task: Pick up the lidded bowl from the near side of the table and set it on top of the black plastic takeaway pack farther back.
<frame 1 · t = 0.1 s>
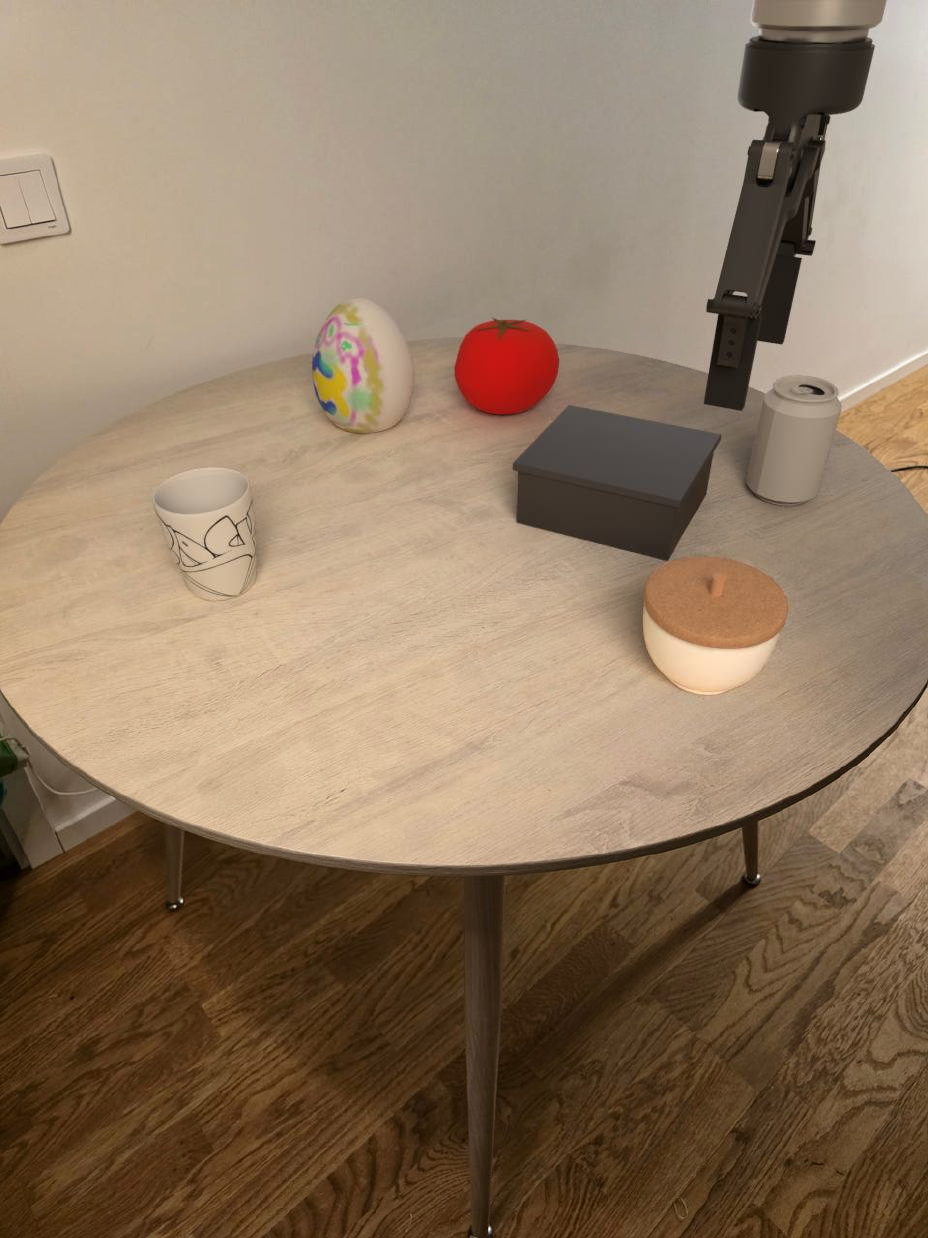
hand: (746, 371, 65), 21 cm above the table, tool pointing down, fingers open, 13 cm apart
lidded bowl: (700, 671, 71), on the table
tomato: (505, 407, 111), on the table
decorative egg: (367, 421, 109), on the table
can: (780, 493, 93), on the table
takeaway pack: (613, 508, 91), on the table
mug: (216, 577, 83), on the table
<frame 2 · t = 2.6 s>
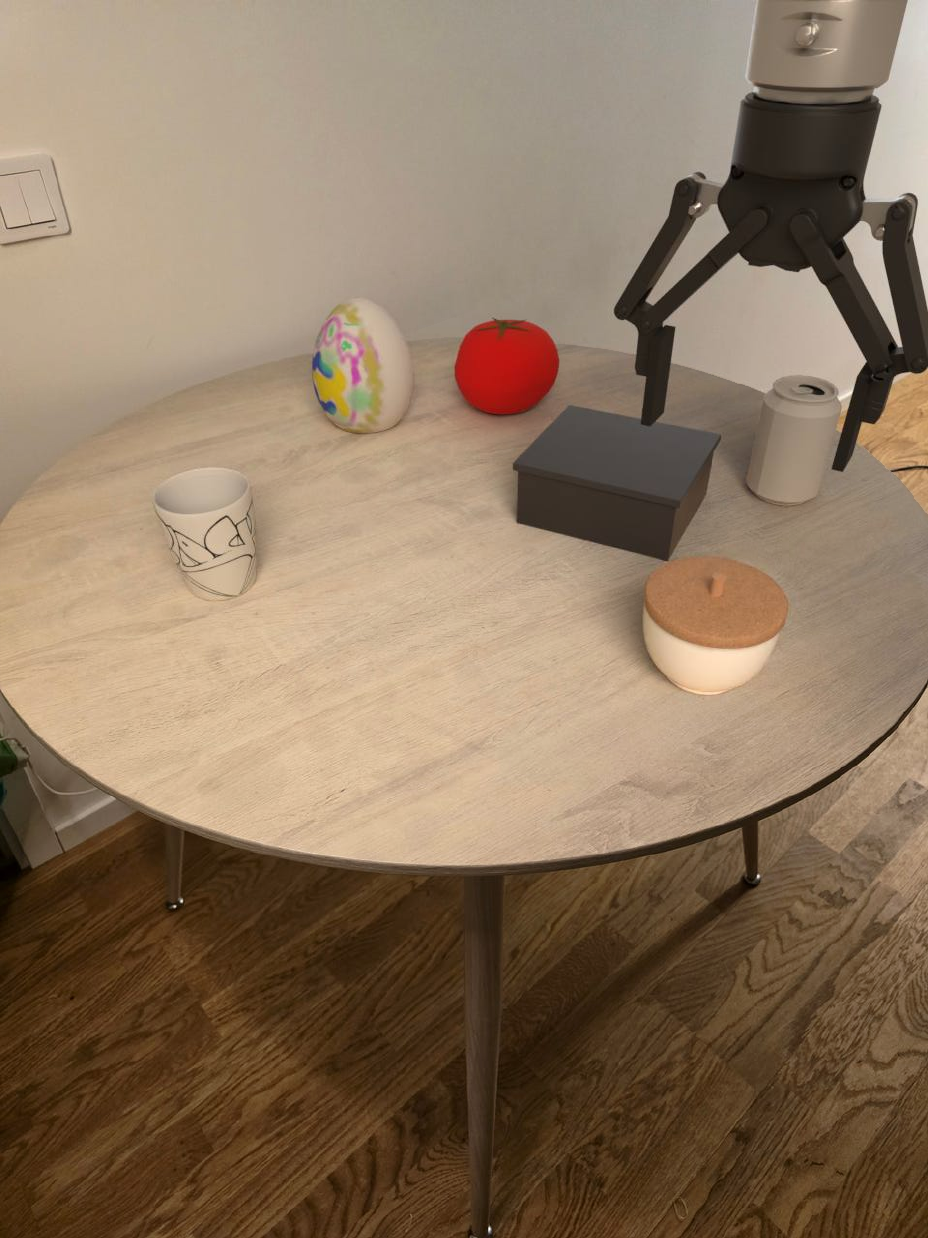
hand: (742, 439, 61), 19 cm above the table, tool pointing down, fingers open, 13 cm apart
nothing on the table moved.
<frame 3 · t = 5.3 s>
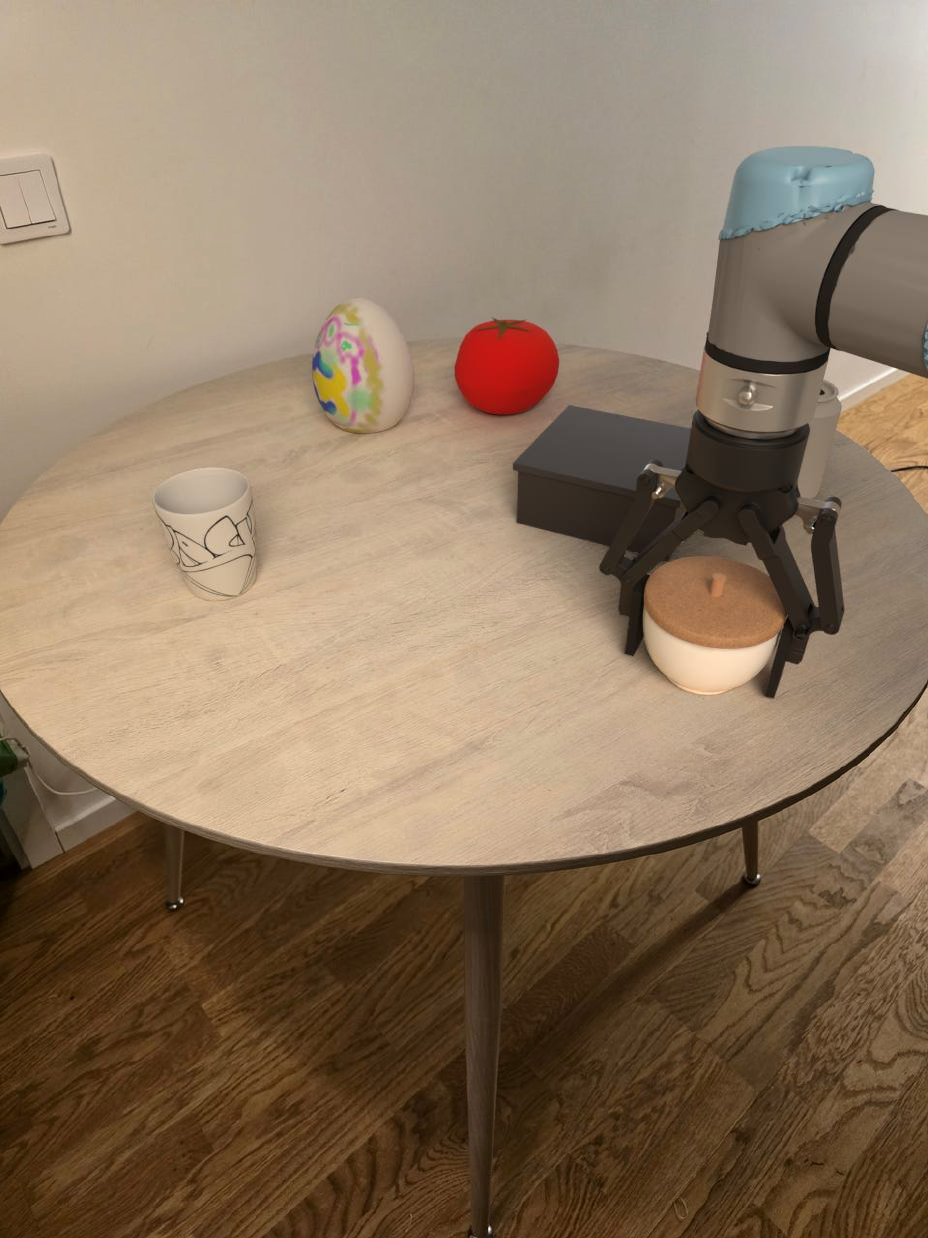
hand: (701, 665, 71), 0 cm above the table, tool pointing down, fingers closed on lidded bowl, 11 cm apart
lidded bowl: (700, 671, 71), on the table, touching gripper
everything else where it was.
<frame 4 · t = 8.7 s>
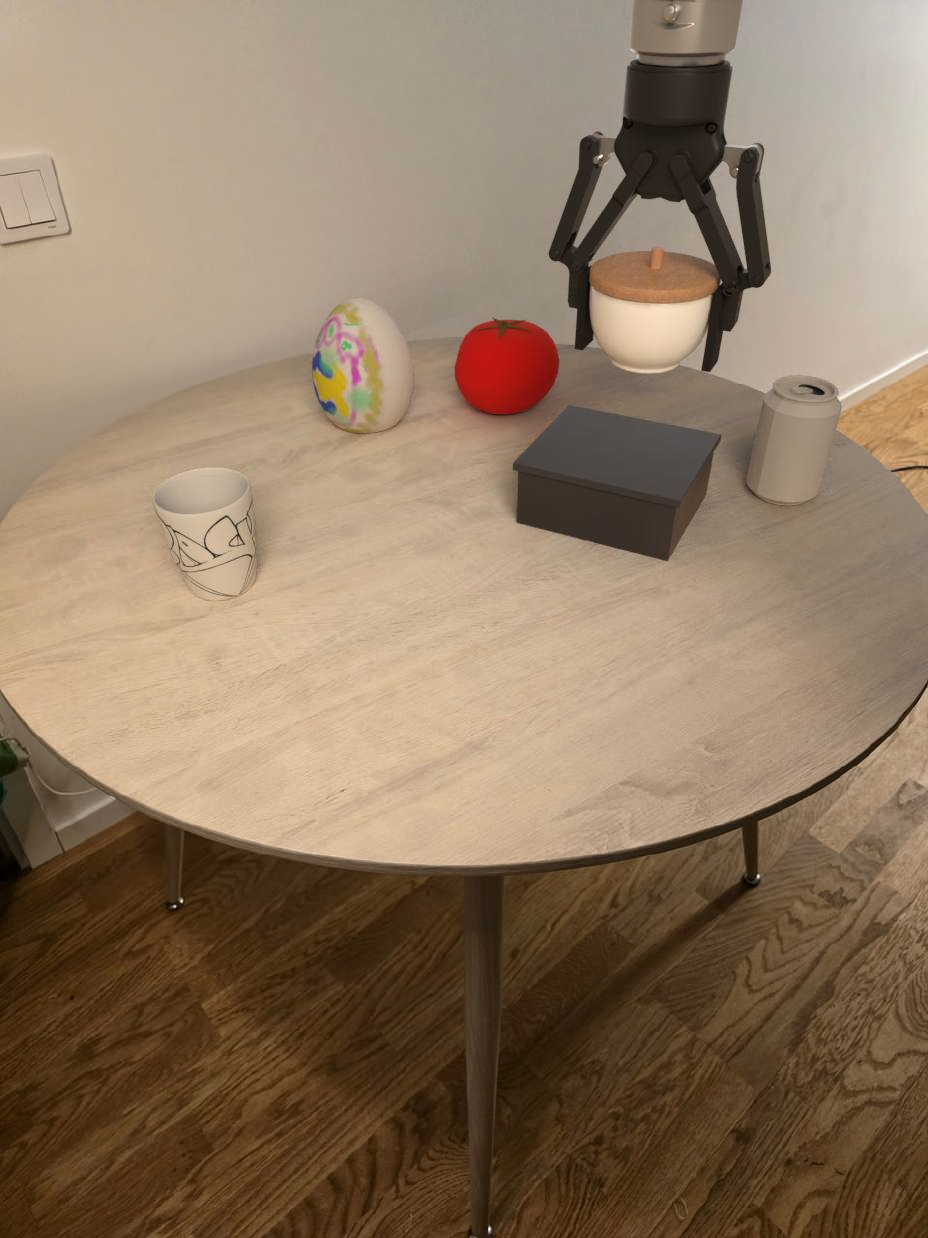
hand: (645, 354, 76), 18 cm above the table, tool pointing down, fingers closed on lidded bowl, 11 cm apart
lidded bowl: (644, 362, 76), point 18 cm above the table, touching gripper
everything else where it was.
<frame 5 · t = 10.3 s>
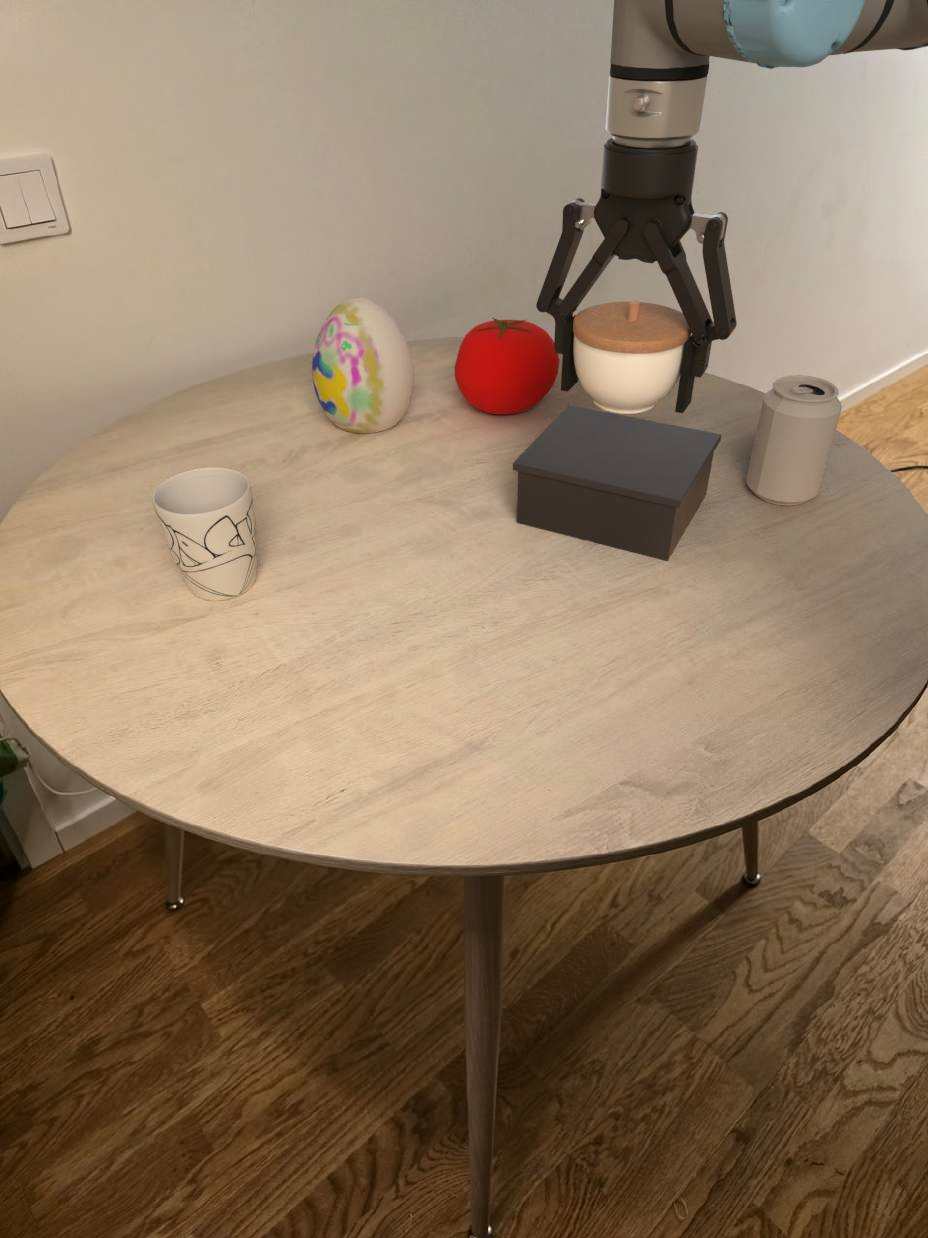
hand: (624, 396, 83), 13 cm above the table, tool pointing down, fingers closed on lidded bowl, 11 cm apart
lidded bowl: (624, 402, 83), point 12 cm above the table, touching gripper
everything else where it was.
when the fingers open (7 cm above the table, at t = 12.1 s): lidded bowl stays where it is, resting on takeaway pack.
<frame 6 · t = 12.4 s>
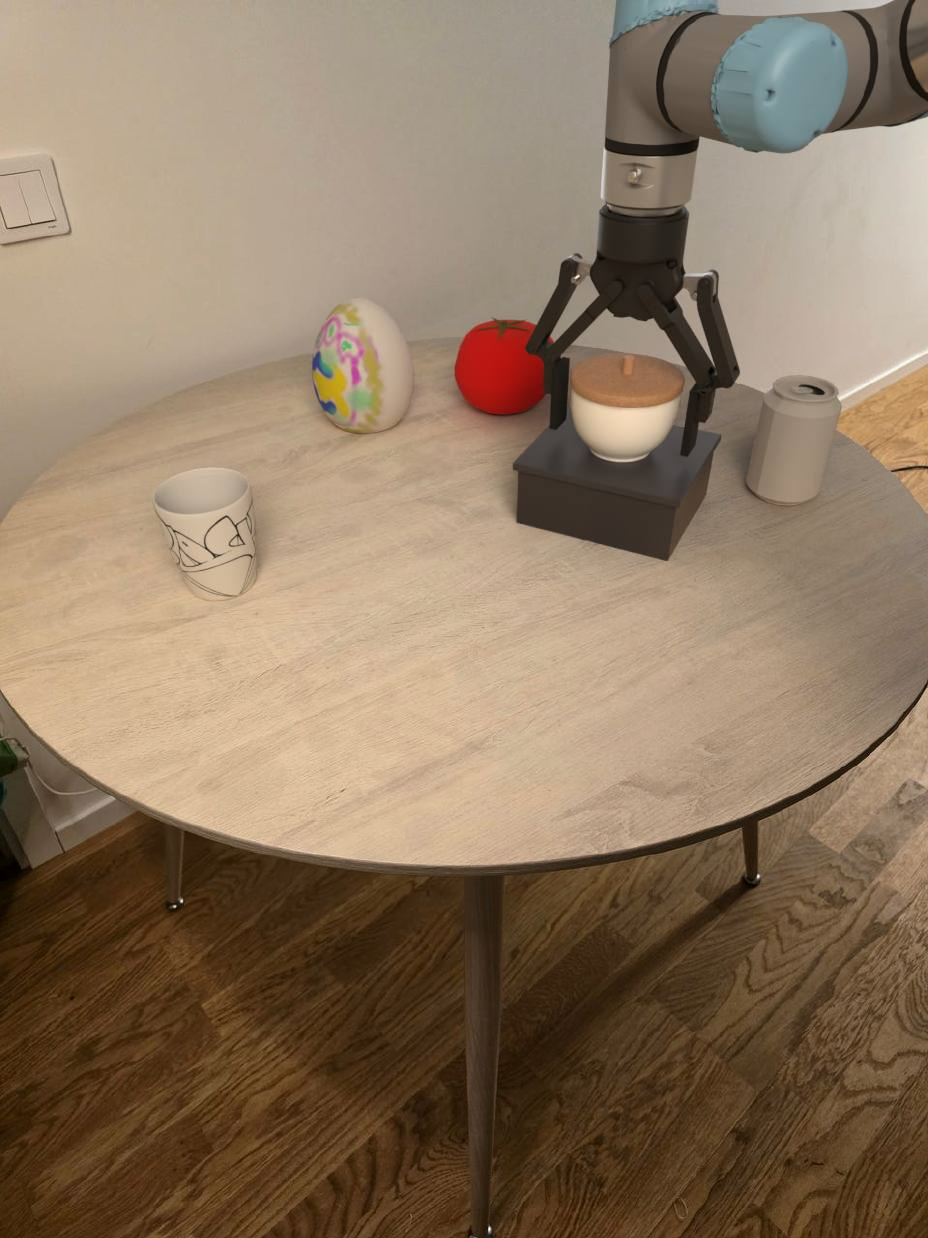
hand: (620, 437, 86), 8 cm above the table, tool pointing down, fingers open, 13 cm apart
lidded bowl: (619, 449, 87), point 7 cm above the table, touching takeaway pack
everything else where it was.
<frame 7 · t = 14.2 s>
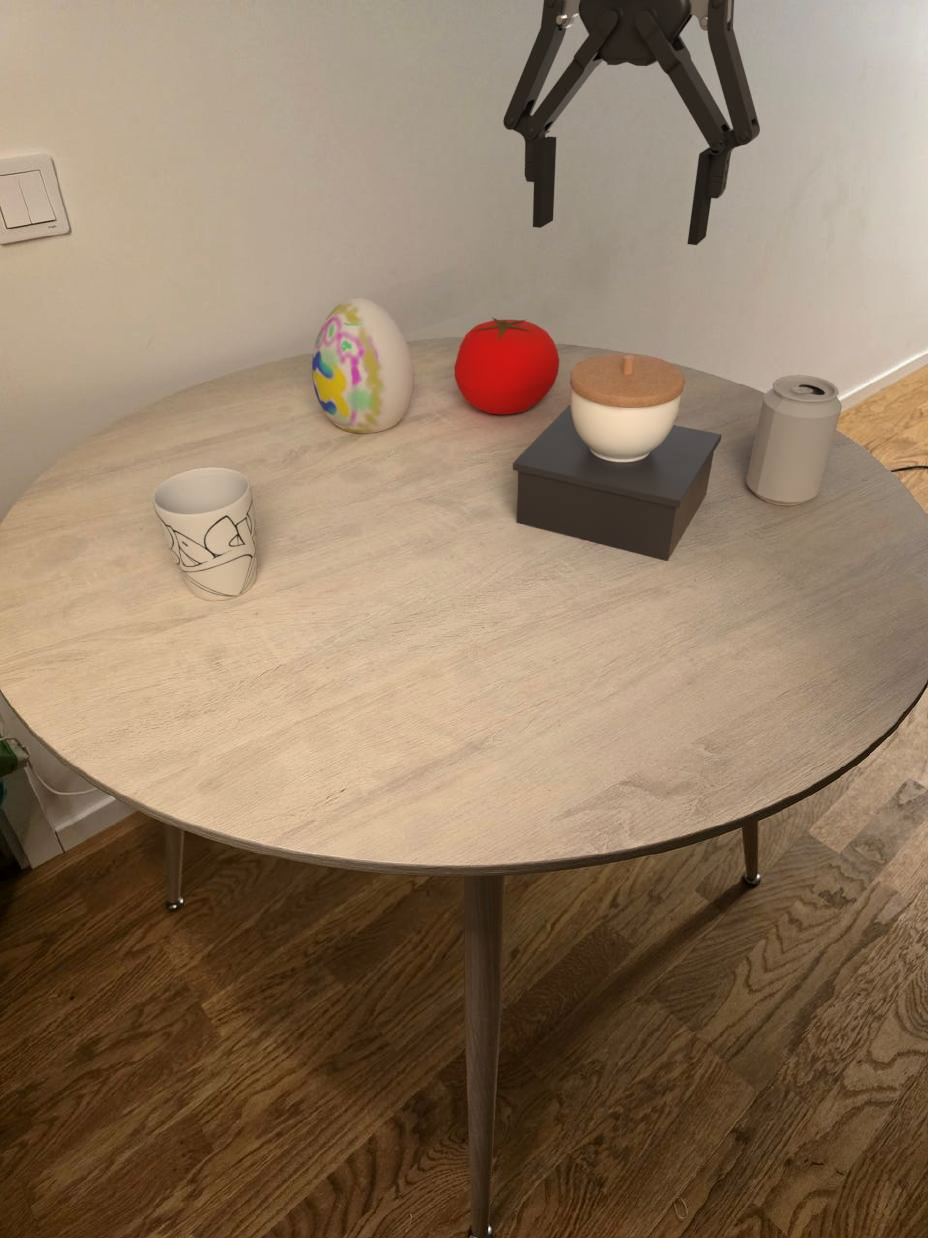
hand: (617, 232, 73), 28 cm above the table, tool pointing down, fingers open, 13 cm apart
nothing on the table moved.
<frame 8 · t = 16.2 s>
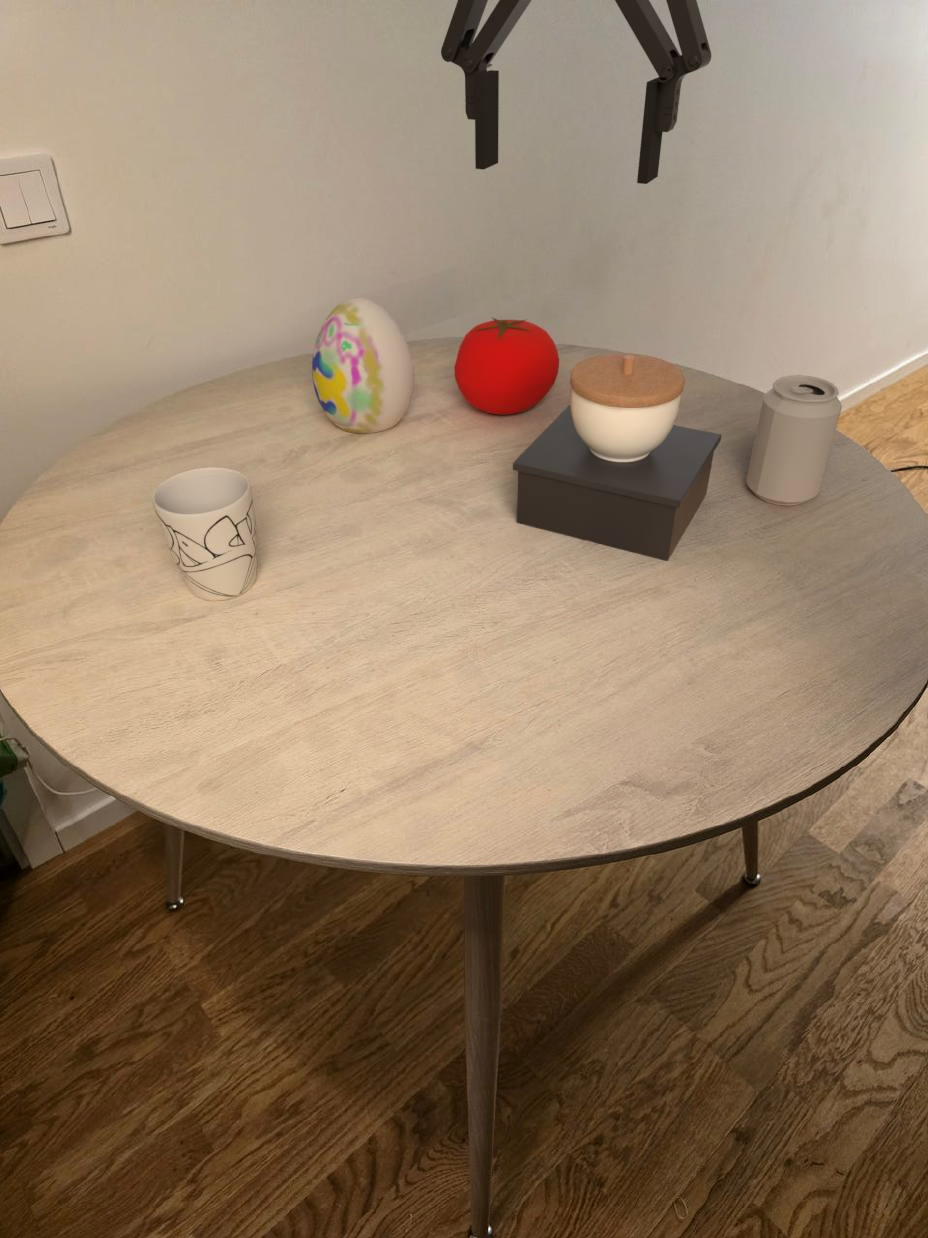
hand: (564, 173, 68), 33 cm above the table, tool pointing down, fingers open, 13 cm apart
nothing on the table moved.
at the end: lidded bowl inside the target area on the takeaway pack (0.0 cm from its centre), point 6.8 cm above the takeaway pack's base; lidded bowl tilted 0°; the gripper is holding nothing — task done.
